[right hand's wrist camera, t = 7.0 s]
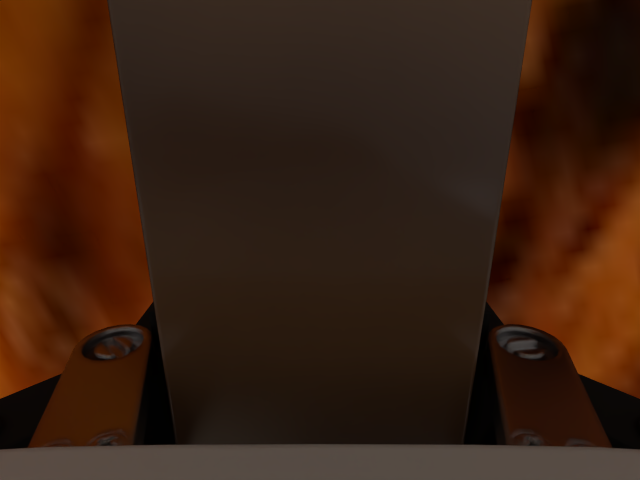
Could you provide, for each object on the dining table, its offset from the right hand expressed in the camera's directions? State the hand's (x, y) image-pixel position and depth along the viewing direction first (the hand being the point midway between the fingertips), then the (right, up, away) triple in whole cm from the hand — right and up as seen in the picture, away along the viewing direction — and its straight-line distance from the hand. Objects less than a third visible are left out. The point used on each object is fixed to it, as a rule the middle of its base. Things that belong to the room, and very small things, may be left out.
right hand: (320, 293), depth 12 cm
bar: (0, -21, +11) cm, 23 cm away
